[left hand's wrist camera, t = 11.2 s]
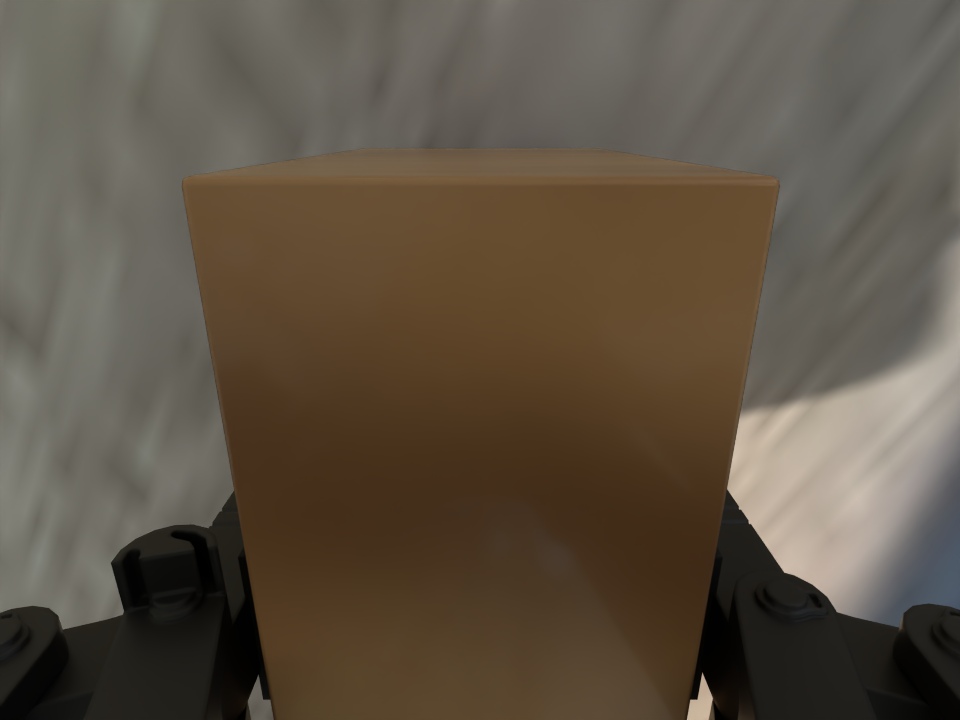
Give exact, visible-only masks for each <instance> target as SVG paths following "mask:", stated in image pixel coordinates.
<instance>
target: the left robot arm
mask: <svg viewBox="0 0 960 720" xmlns="http://www.w3.org/2000/svg"><path fill="white" fill-rule="evenodd" d="M111 565H112V568H113V572H114V576H115V579H116V583H117V587H118V590H119V594H120V598H121V601H122V605H123V609H124V613H123V615H121V616H118V617H114V618H111V619H108V620H103V621H99V622H95V623H90V624H86V625H82V626H77V627H73V628H69V629H64V630H63V629H62V626H61V623H60V620H59V617H58V615H57V614H55V613H54V612H53V611H52V610H50V609H49V608H44V607H37V606H29V607H22V608H15V609H10V610H8V611H5V612H2V613H0V720H251V718H250V711H249V706H248V699H249V697H250V694H251V692H252V689H253V687H254V684H255V682H256V679H257V677H258V674H259V679H260V684H261V690H262V695H263V700H270V694H269V688H268V682H267V676H266V671H265V665H264V659H263V653H262V648H261V642H260V636H259V630H258V624H257V619H256V613H255V607H254V601H253V595H252V590H251V584H250V578H249V572H248V566H247V561H246V555H245V549H244V543H243V537H242V532H241V526H240V520H239V514H238V508H237V503H236V497H235V491H234V492H233V493H232V495H231V496H230V498H229V499H228V501H227V502H226V504H225V505H224V507H223V508H222V512H219V514H218V515H217V517H216V518H215V520H214V521H213V525H212V526H210V527H209V529H208V528H205V527H201V526H196V525H174V526H170V527H166V528H162V529H158V530H154V531H152V532H150V533H148V534H146V535H143V536H141V537H139V538H137V539H135V540H134V541H132V542H131V543H130V544H128V545H127V546H126V547H124V548H123V549H121V550H120V552H119V553H118V554H117V556H116V557H115V558H114V560H113V561H112V562H111ZM702 672H703V675H704V677H705V680H706V682H707V685H708V687H709V690H710V692H711V694H712V697H713V701H712V706H711V711H710V716H709V720H960V610H958V609H955V608H952V607H949V606H942V605H935V604H922V605H915V606H912V607H911V608H910V609H908V610H907V611H906V612H905V613H904V614H903V617H902V620H901V623H900V626H899V628H898V627H894V626H889V625H885V624H881V623H876V622H872V621H868V620H863V619H859V618H855V617H851V616H848V615H844V614H841V613H838V612H836V610H835V608H834V607H833V605H832V604H831V602H830V601H829V599H828V598H827V596H825V595H824V594H823V593H822V592H821V591H819V590H818V589H817V588H816V587H814V586H813V585H812V584H810V583H808V582H806V581H804V580H802V579H800V578H798V577H796V576H794V575H791V574H787V573H784V572H783V570H782V569H781V567H780V566H779V564H778V563H777V562H776V560H775V559H774V557H773V556H772V554H771V553H770V551H769V550H768V548H767V547H766V545H765V544H764V543H763V541H762V540H761V538H760V537H759V535H758V534H757V532H756V531H755V529H754V528H753V526H752V525H751V524H749V523H748V519H747V518H746V516H745V515H744V513H743V512H742V510H739V506H738V505H737V503H736V502H735V500H734V499H733V497H732V496H731V494H730V493H729V491H728V490H727V491H726V497H725V503H724V508H723V514H722V520H721V526H720V531H719V537H718V543H717V549H716V554H715V560H714V566H713V572H712V577H711V583H710V589H709V595H708V600H707V606H706V612H705V618H704V623H703V629H702V635H701V640H700V646H699V652H698V658H697V663H696V669H695V675H694V681H693V686H692V692H691V698H690V700H697V699H698V693H699V688H700V682H701V677H702Z"/></svg>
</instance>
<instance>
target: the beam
mask: <svg viewBox="0 0 960 720" xmlns="http://www.w3.org/2000/svg"><path fill="white" fill-rule="evenodd" d="M779 187H780V186H779V180H778V179H776V178H774V177H772V176H767V175H760V174H754V173H748V172H742V171H735V170H729V169H723V168H716V167H710V166H704V165H698V164H691V163H685V162H679V161H672V160H666V159H660V158H654V157H647V156H641V155H635V154H628V153H622V152H616V151H610V150H603V149H357V150H351V151H345V152H338V153H332V154H326V155H319V156H313V157H307V158H300V159H294V160H288V161H282V162H275V163H269V164H263V165H256V166H250V167H244V168H237V169H231V170H225V171H218V172H212V173H206V174H200V175H193V176H189V177H187V178H184V179H183V182H182V190H183V196H184V201H185V207H186V213H187V219H188V225H189V230H190V236H191V242H192V248H193V253H194V259H195V265H196V271H197V277H198V282H199V288H200V294H201V300H202V306H203V311H204V317H205V323H206V329H207V335H208V340H209V346H210V352H211V358H212V364H213V369H214V375H215V381H216V387H217V393H218V398H219V404H220V410H221V416H222V422H223V427H224V433H225V439H226V445H227V450H228V456H229V462H230V468H231V474H232V479H233V485H234V491H235V497H236V503H237V508H238V514H239V520H240V526H241V532H242V537H243V543H244V549H245V555H246V561H247V566H248V572H249V578H250V584H251V590H252V595H253V601H254V607H255V613H256V619H257V624H258V630H259V636H260V642H261V648H262V653H263V659H264V665H265V671H266V676H267V682H268V688H269V694H270V700H271V705H272V711H273V717H274V720H687V715H688V709H689V704H690V698H691V692H692V686H693V681H694V675H695V669H696V663H697V658H698V652H699V646H700V640H701V635H702V629H703V623H704V618H705V612H706V606H707V600H708V595H709V589H710V583H711V577H712V572H713V566H714V560H715V554H716V549H717V543H718V537H719V531H720V526H721V520H722V514H723V508H724V503H725V497H726V491H727V485H728V480H729V474H730V468H731V462H732V457H733V451H734V445H735V439H736V434H737V428H738V422H739V416H740V411H741V405H742V399H743V393H744V388H745V382H746V376H747V370H748V365H749V359H750V353H751V348H752V342H753V336H754V330H755V325H756V319H757V313H758V307H759V302H760V296H761V290H762V284H763V279H764V273H765V267H766V261H767V256H768V250H769V244H770V238H771V233H772V227H773V221H774V215H775V210H776V204H777V198H778V192H779Z"/></svg>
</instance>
